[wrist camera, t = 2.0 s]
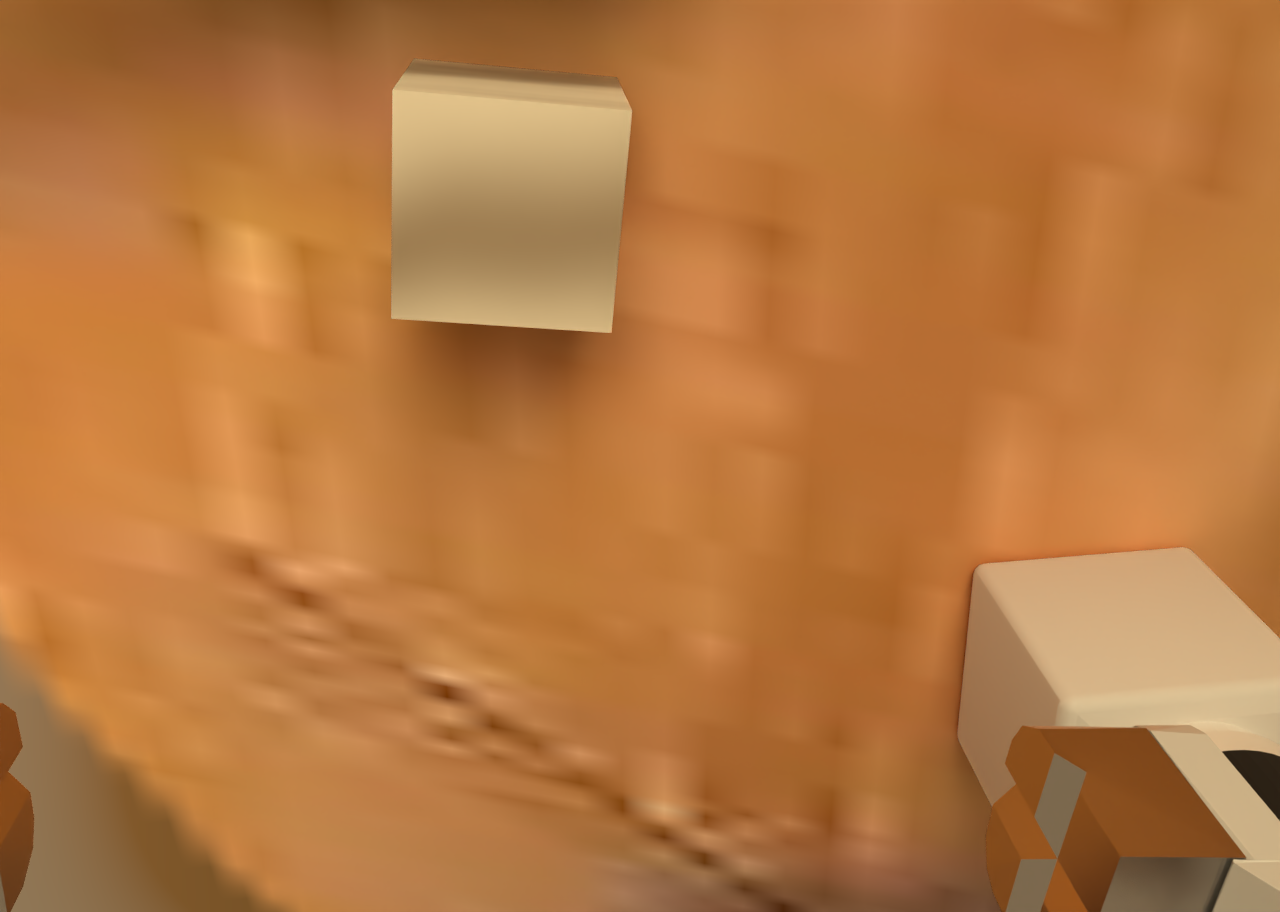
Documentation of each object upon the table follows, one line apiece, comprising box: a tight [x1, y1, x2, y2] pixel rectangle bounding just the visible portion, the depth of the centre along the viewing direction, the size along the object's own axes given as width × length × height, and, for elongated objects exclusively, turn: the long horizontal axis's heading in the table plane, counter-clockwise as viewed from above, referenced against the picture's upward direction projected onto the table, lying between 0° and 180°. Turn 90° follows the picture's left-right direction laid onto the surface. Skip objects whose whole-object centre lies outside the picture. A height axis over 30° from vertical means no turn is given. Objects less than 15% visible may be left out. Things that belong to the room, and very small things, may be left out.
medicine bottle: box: [957, 547, 1280, 821], centre depth 32 cm, size 7×7×12 cm
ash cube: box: [391, 58, 632, 333], centre depth 27 cm, size 5×5×5 cm
